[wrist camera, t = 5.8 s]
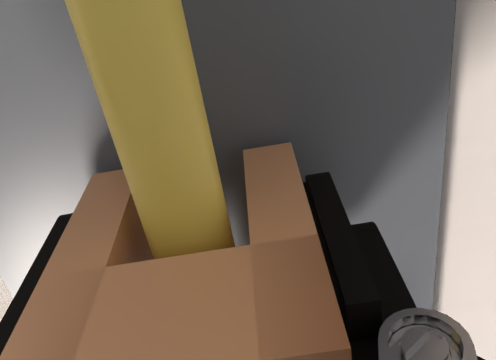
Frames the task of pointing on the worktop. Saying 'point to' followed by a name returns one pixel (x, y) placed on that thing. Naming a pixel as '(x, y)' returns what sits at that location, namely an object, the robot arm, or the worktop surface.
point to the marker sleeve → (187, 283)
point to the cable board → (223, 115)
